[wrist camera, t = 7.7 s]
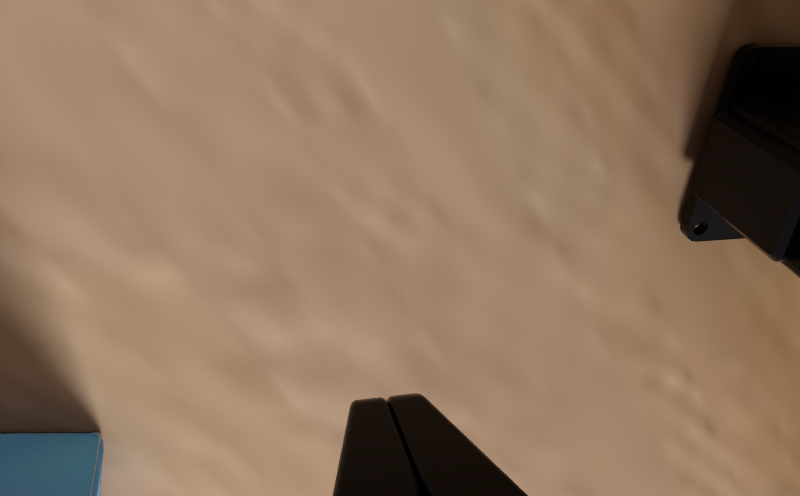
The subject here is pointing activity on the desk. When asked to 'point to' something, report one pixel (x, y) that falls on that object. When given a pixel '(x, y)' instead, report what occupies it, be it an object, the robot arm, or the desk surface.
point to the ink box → (50, 464)
